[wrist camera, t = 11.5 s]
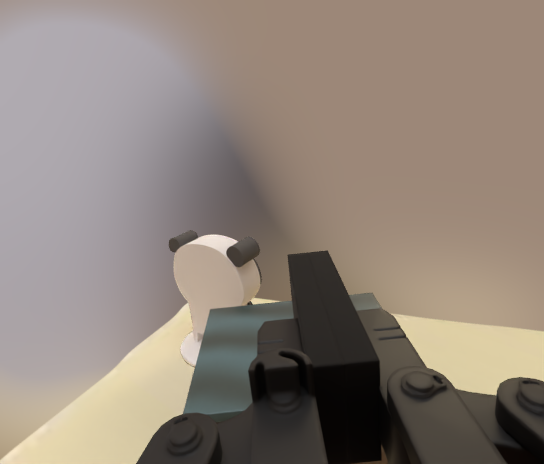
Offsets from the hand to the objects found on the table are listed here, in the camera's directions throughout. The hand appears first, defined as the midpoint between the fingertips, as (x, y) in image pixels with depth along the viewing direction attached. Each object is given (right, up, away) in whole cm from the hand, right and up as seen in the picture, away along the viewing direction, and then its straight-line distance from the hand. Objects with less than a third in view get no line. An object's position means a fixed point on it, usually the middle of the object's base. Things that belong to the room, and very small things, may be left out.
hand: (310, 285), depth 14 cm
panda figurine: (-8, -13, +37) cm, 40 cm away
